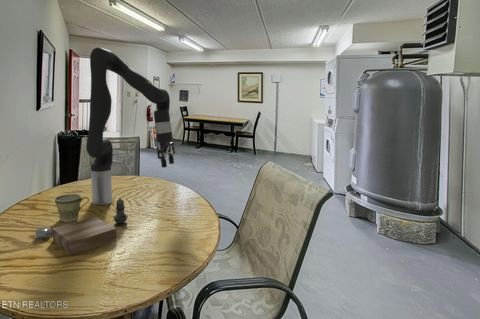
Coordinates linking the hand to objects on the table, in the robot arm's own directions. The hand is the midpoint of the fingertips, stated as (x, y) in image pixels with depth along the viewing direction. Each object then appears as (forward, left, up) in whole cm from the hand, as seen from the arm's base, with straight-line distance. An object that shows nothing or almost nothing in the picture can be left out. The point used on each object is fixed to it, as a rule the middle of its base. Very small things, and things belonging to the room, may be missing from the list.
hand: (168, 165), depth 144 cm
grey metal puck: (-8, -51, -22) cm, 57 cm away
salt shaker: (+1, -25, -23) cm, 34 cm away
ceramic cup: (-19, -36, -23) cm, 47 cm away
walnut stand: (+6, -42, -22) cm, 48 cm away
